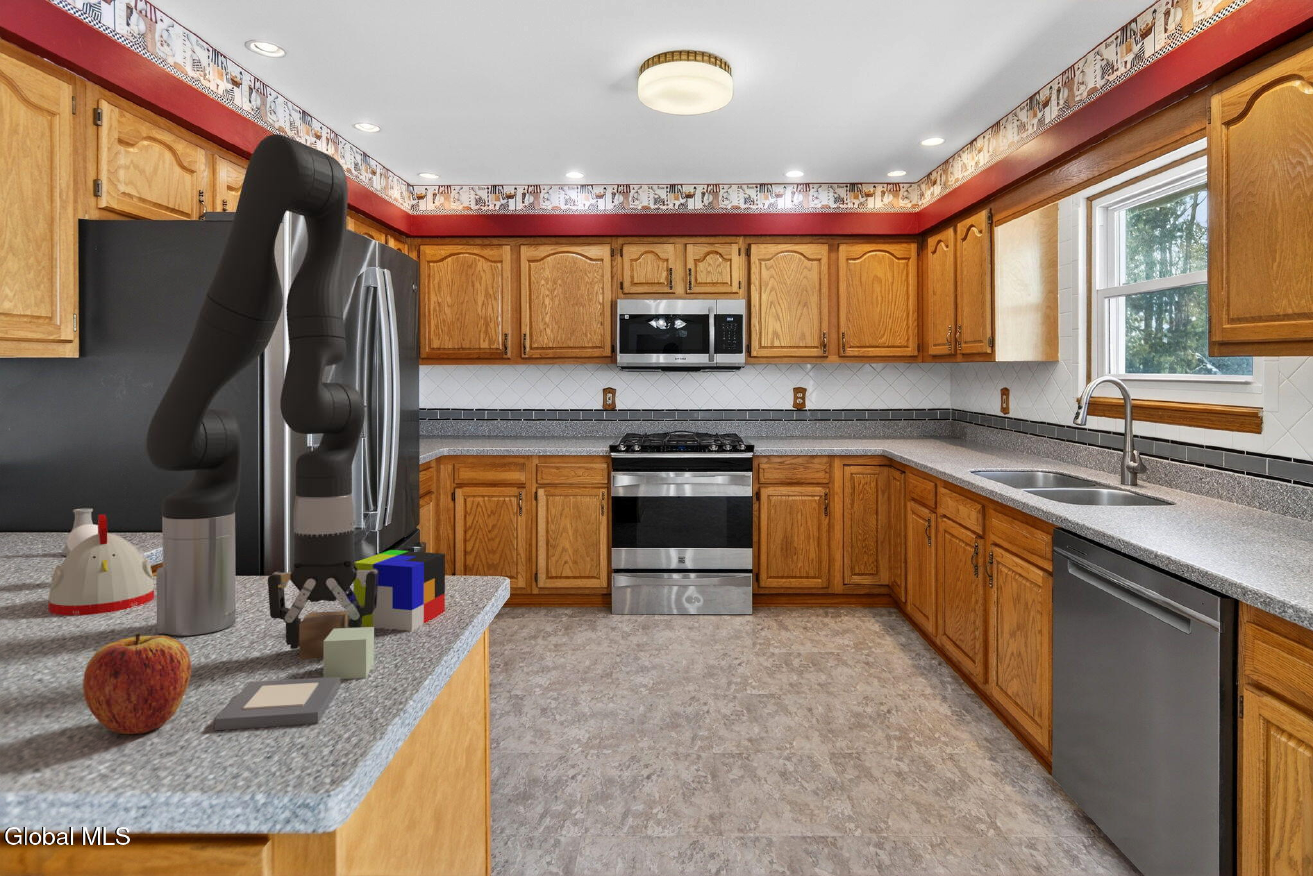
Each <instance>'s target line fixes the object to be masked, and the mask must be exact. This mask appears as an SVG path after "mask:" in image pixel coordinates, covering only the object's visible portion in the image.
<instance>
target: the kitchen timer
mask: <svg viewBox="0 0 1313 876" xmlns="http://www.w3.org/2000/svg"><path fill="white" fill-rule="evenodd" d="M107 520H108V518H107V516H106V514H98V519H97V525H98V534H96V535H93V536H91V537H89V538H87V539H85V540H84V541H82V542H81V543H80V544H78V545H77V546H76V547H75V548H74V549H73V550H72V551H71V552H70V553H69V554H68V556H65V558H64V559H63V561H62V562H61V564H60V565H57V566H56V567H55V569H54V571H53V573H52V577H51V582H50V587H49V590H50V592H49V595H48V611H49V612H50V613H51V614H53V615H57V616H59V615H60V616H88V615H89V616H90V615H98V614H99V615H100V614H104V613H105V614H107V613H114V612H118V611H119V612H120V611H124V610H128V609H127V608H129V609H133V608H135V607H134V606H137V607H140V606H142V605H141V604H143V605H145V604H148V603H150V602H151V601H153V600H154V598H155V585H154V579H153V577H154V575H153V572H152V568H151V564H150V560H149V559H147V558H146V557H145V556H143V555H142V554H141V553H140V552H139V550H138V549H137V548H136V547H135V545H133V544H131V543H130V542H129V541H128V540H126V539H125V538H122V536H121V537H120V536H118V535H116V534H112V533H108V521H107ZM152 599H153V600H152ZM149 601H150V602H149ZM147 602H148V603H147ZM144 603H145V604H144ZM139 605H140V606H139ZM132 607H133V608H132Z"/></svg>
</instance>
